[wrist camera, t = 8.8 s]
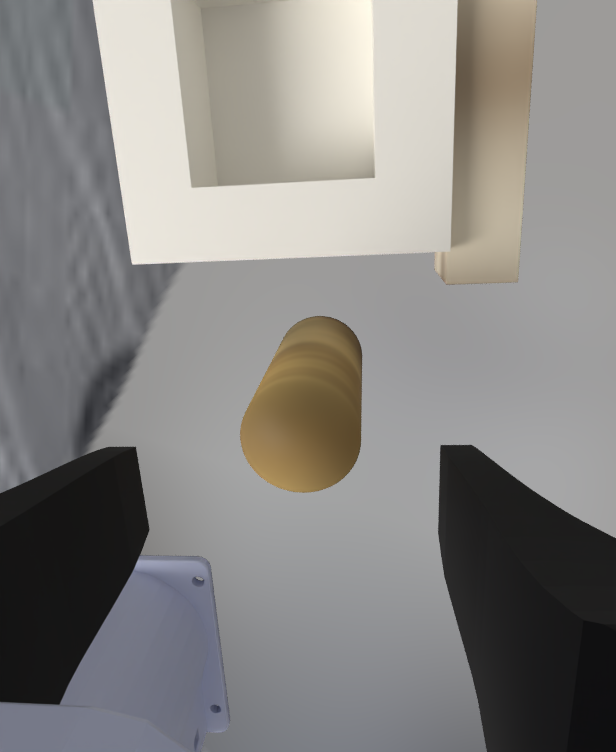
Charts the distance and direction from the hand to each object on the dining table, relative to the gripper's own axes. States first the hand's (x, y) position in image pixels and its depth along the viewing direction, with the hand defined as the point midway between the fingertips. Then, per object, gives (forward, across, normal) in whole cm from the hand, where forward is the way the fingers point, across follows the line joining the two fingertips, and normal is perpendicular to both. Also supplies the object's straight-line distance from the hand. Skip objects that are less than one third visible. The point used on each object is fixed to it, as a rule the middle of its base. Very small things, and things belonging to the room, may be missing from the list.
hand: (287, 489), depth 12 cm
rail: (+9, -5, -8) cm, 13 cm away
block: (+10, 0, -8) cm, 13 cm away
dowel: (+9, 0, 0) cm, 9 cm away
